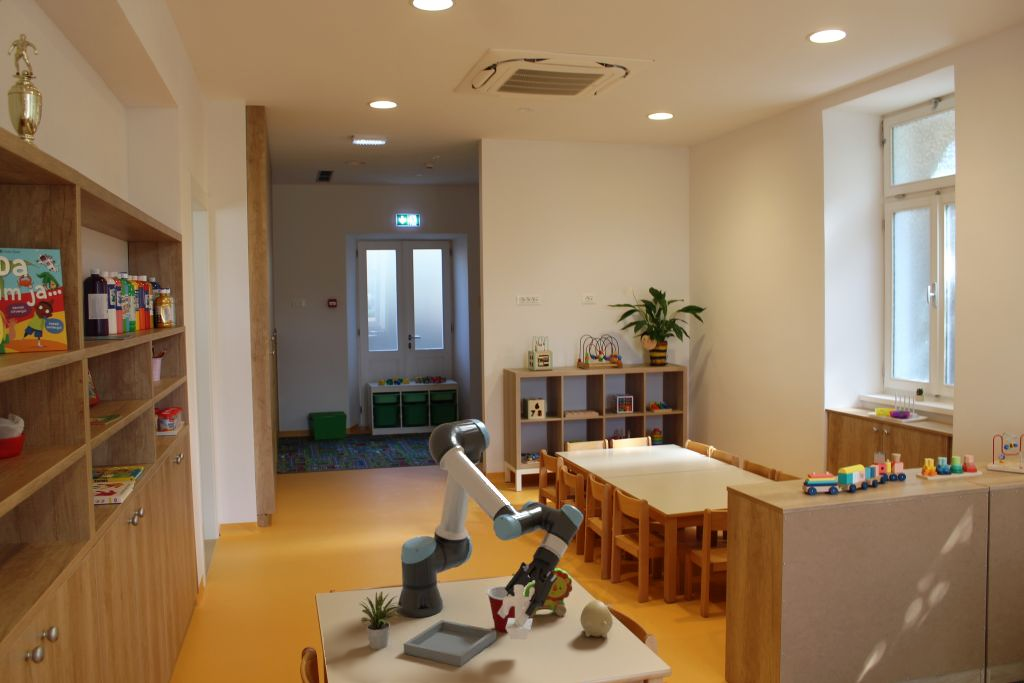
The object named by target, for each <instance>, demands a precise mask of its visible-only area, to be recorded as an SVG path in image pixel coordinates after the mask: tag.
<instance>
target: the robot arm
mask: <svg viewBox="0 0 1024 683" xmlns="http://www.w3.org/2000/svg"><path fill="white" fill-rule="evenodd" d="M490 441H491V436H490V432H489V430H488V429H487V426H486V425H485V424H484V422H482V421H481V420H479V419H476V418H472V419H470V418H469V419H467V418H465V419H463V420H459V421H453V422H446V423H445V422H444V423H442V424H439V425H438V426H436V427H435V428H434V429H433V431H431V434H430V436H429V438H428V447H429V448H428V449H429V452H430V455H431V457H432V460H434V462H435V463H436V465H437V466H438V467H439V468H440V469H441V470H443V471H444V470H445V471H447V478H446V484H445V492H444V497H443V504H442V511H441V518H440V524H438V525H437V526H436V527H435V528H434V534H433V537H432V536H428V535H427V536H426V535H423V536H420V537H418V536H416V537H412V538H409V539H408V540H406V541H405V542H404V543H403V545H402V546H401V555H400V559H401V578H402V579H401V581H402V582H401V583H402V585H401V586H402V587H401V592H400V595H399V599H398V602H397V607H399V608H397V613H398V614H399V615H400V616H405V617H407V618H408V617H409V618H423V617H430V616H433V615H437V614H439V613H440V612H441V611H443V608H444V605H443V604H444V602H443V598H442V596H441V593H440V589H439V587H438V577H437V576H438V574H439V573H442V572H446V571H448V570H451V569H454V568H458V567H460V566H462V565H464V564H466V563H467V562H468V561H469V560H470V558H471V556H472V553H473V542H471V541H472V539H471V537H470V535H469V532H468V530H467V529H466V521H467V515H468V509H469V502H470V497H471V498H472V499H473V500H474V501H475V503H476V504H477V505H478V506H479V507H480V508H481V509H482V511H484V512H485V513H486V515H488V517H489V519H491V520H492V521H493V523H492V524H493V525H492V526H493V531H494V533H495V536H496V537H497V539H499V540H502V541H510V540H515V539H517V538H519V537H521V536H525V535H527V534H530V533H533V532H537V531H539V530H540V531H544V532H546V533H545V535H544V536H543V539H542V540H541V542H540V543H539V547H537V549H536V551H535V552H534V554H533V556H532V561H530V562H529V563H525V562H524V561H522V562H521V563H520V566H519V568H518V570H517V571H516V572H515V574H514V575H513V576H512V578H511V579H510V580H509V581H508V582H507V584H506V587H505V590H506V591H507V593H508V594H507V596H515V592H513V591H514V585H518V584H519V585H523V586H524V588H525V587H527V586H528V585H529V584H530V583H531V582H533V581H535V585H534V588H535V592H534V594H533V595H532V597H531V600H529V601H530V602H531V603H530V602H527V604H526V605H525V607H523V610H522V612H521V614H520V615H519V617H518V619H517V621H516V622H517V623H518V624H519V625H520V626H521V627H523V626H524V624H525V622H526V621H527V619H529V616H531V615H532V613H533V611H534V610H535V608H536V607H538V606H541V607H543V606H544V603H545V601H546V599H547V597H548V594H549V592H550V590H551V588H552V585H553V583H554V582H555V581H556V580H557V577H556V576H555V574H554V573H553V572H552V570H554V569H556V568H557V566H558V564H559V563H560V561H561V560H560V559H562V558H563V556H564V554H565V552H566V551H567V549H568V547H569V545H570V543H571V542H572V540H573V538H574V536H575V535H576V533H577V532H578V530H580V526H581V524H582V523H583V520H584V514H583V513H582V512H581V511H580V510H579V509H578V508H577V507H575V506H574V505H571V504H563V505H562V507H561V508H560V509H557V508H554V507H551V506H549V505H546V504H544V503H542V502H539V501H534V500H528V501H526V502H525V503H524V504H523V505H522V507H521V509H519V510H517V508H516V507H515V506H514V505H513V504H512V503H511V502H510V501H509V500H508V499H507V498H506V497H505V496H504V495H503V494H502V492H500V490H498V488H497V487H496V486H495V485H494V484H493V483H492V482H491V481H490V480H489V478H487V477H486V476H485V475H484V473H483V472H482V471H481V470H480V469H479V468H478V467H477V466H476V465H478V464H479V463H480V461H481V455H482V453H483V452H486V450H487V449H488V448H489V446H490V443H491V442H490ZM545 579H546V580H545ZM510 608H511V606H509V610H510ZM498 614H499V615H500V616H501V617H502V618H505V616H506V615H504V614H503V605H502V606H501V608H500V610H499V611H498Z"/></svg>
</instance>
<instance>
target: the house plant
mask: <svg viewBox="0 0 1024 683" xmlns="http://www.w3.org/2000/svg"><path fill="white" fill-rule="evenodd" d="M383 593H384V592H383V591H380V593H379V595H378V591H376V593H375V602H374V603H375V604H374V603H373V601H372V600H371V599H370V598H369V597H368V596H366V599H363V600H365V601H366V600H367V602H368V604H369V605H370V607H369V606H368V605H367V604H366V603H365V602H364V601H362V600H361V602H359V605H360V606H362V607H363V608H364V609H362V610H361V612H362V613H364V614H366V615H367V616H368V617H369V618H367V617H361V620H360V622H361V624H363V623H366V622H369V623H368V624H367V625H366V632H367V636H368V641H369V646H370V648H371V649H373V650H382V649H386V648H387V647H388V644H389V636H390V628H391V623H390V622H388V621H387V620H389V619H390V618H398V616H397V615H399V612H398V611H392V610H395V609H398V608H399V607H398V606H396V605H394V604H395V602H393V600H394V599H396V598H397V597H398V595H396V596H393V597H392V598H391V599H389V601H388V602H387V603H386V604H385V606H383V605H384V603H385V600H386V599H387V597H388V596H389V593H387V595H385V596H384V597H383ZM390 611H392V612H390Z"/></svg>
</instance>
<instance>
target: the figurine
mask: <svg viewBox="0 0 1024 683" xmlns="http://www.w3.org/2000/svg"><path fill="white" fill-rule="evenodd" d="M524 589H525V587H524V586H523V585H519V584H518V585H514V592H515V596H506V597H504V598H503V614H504V615H508V613H509V606H515V618H508V621H507V625H506V630H507V632H506V633H508V635H509V637H510V638H511V639H513V640H515V639H516V640H517V639H518V640H519V639H520V640H527V638H528V636H529V634H530V631H531V629H532V624H533V621H534V620H533V619H534V618H528V619H527V621H526V622H525V624H524V626H523V627H521V626H520V625H519V624H518V623H517V622H516V621H517V619H518V617H519V615H520V614H521V612H522V610H523V609H524V607H525V605H526V604H527V602H530V601H529V600H531V597H532V595H533V594H534V592H535V588H534V587H531V588H530V590H529V597H524V593H525V590H524ZM530 603H531V602H530Z"/></svg>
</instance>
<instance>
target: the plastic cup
mask: <svg viewBox="0 0 1024 683" xmlns="http://www.w3.org/2000/svg"><path fill="white" fill-rule="evenodd" d="M506 586H507V585H506ZM506 586H501V585H500V586H494V587H490V588H489V589H487V592H486V594H487V595H488V599H489V604H490V609H491V615H492V619H493V624H494V630H495V631H496V632H499V633H508V632H507V630H506V625H507V621H508V618H515V606H511V608H510V610H509V613H508V615H506V616H505V618H502V617H501V616H500V615H499V614H498V611H499V610H500V608H501V606H502V605H503V598H504V597H506V596H507V594H508V593H507V591H506V590H505V587H506ZM513 592H514V591H513Z"/></svg>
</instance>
